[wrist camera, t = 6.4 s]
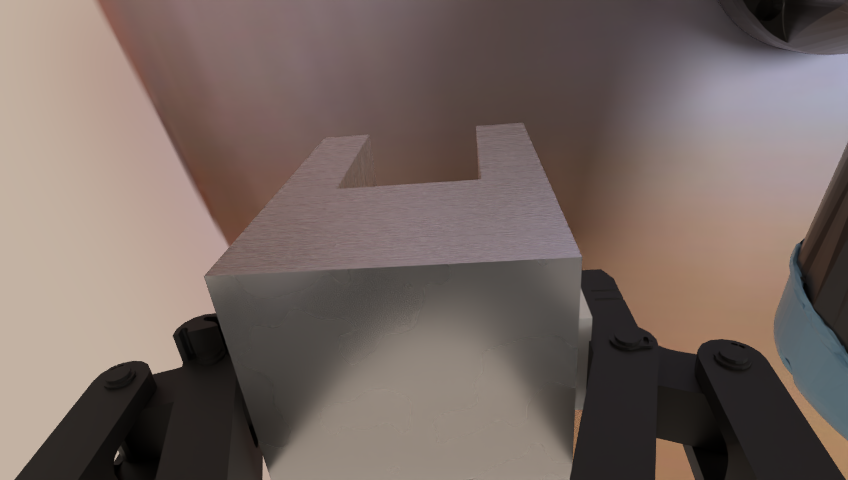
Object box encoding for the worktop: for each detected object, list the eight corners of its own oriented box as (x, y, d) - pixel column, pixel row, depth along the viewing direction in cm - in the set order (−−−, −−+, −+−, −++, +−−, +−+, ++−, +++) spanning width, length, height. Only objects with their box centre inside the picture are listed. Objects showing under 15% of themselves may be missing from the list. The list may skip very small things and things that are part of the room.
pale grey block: (325, 137, 17) (204, 276, 9) (523, 122, 16) (582, 257, 8) (360, 333, 21) (296, 557, 13) (524, 326, 20) (567, 559, 12)
